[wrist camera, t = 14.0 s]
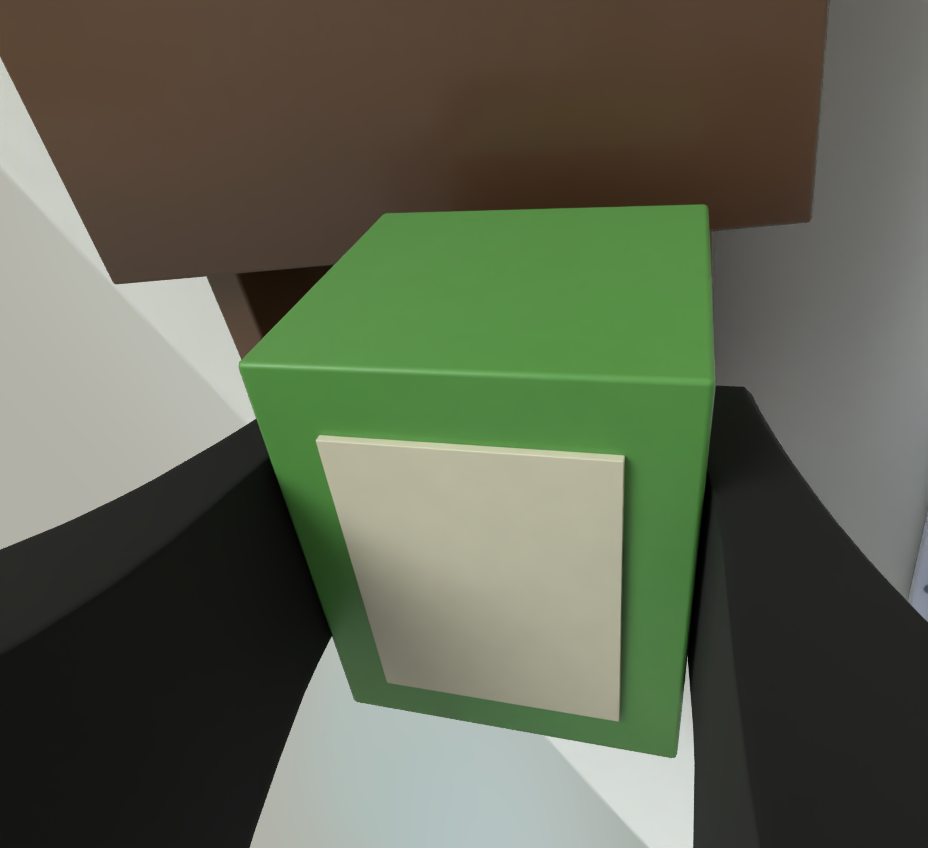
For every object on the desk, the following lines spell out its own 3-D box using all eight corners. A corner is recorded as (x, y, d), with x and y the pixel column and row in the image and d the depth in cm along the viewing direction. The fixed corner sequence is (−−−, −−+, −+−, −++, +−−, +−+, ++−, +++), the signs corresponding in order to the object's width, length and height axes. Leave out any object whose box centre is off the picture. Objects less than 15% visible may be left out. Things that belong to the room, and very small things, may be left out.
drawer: (732, 579, 23) (740, 742, 19) (414, 560, 27) (357, 692, 22) (749, -105, 13) (774, -106, 9) (236, 13, 17) (69, 55, 12)
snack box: (708, 202, 9) (716, 388, 6) (682, 527, 12) (676, 768, 9) (383, 212, 10) (229, 368, 7) (437, 504, 13) (351, 709, 10)
